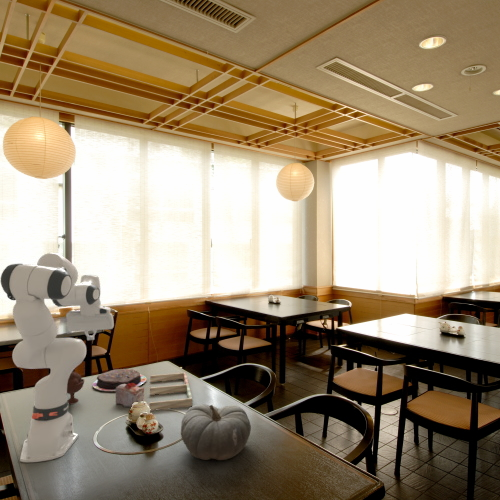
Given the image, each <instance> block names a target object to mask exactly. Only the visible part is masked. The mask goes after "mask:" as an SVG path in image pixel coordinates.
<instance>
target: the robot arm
mask: <svg viewBox="0 0 500 500" xmlns="http://www.w3.org/2000/svg"><path fill="white" fill-rule="evenodd" d="M78 273H79V272H78V270H77V268H76V265H74V264H73V263H72V262H71V261H70V260H69V259H67V258H66V257H64V256H63V255H61V254H59V253H56V252H47V253H44V255H42V256H40V258H39V259H38V261H37V264H23V263H12V264H8V265H7V266H6V267H5V268H4V269H3V270H2V273H1V274H0V285H1V287H2V290H3V292H4V293H5V294H6V297H7V298H8V299H9V300H11V301H15V303H14V305H13V308H12V316H13V320H14V324H15V326H16V328H17V331H18V332H19V334H20V336H21V338H22V340H21V341H19V342H18V343H17V344H16V345H15V347H14V349H13V350H12V357H11V358H12V361H13V363H14V365H15V366H16V367H17V368H22V369H30V370H32V369H33V370H34V369H35V370H36V369H50V373H49V374H48V375H46V376H44V377H42V378H41V379H39V380H38V381H37V382H36V383H35V385H34V388H33V389H34V390H33V393H34V397H33V398H34V404H33V407H32V415H31V419H30V422H29V423H30V425H29V431H28V433H27V434H26V439H25V440H24V441H23V444H22V448H21V453H20V457H19V462H22V463H38V462H45V461H46V462H47V461H51V460H54V459H58V458H62V457H63V456H64V455H65V454H66V453H67V452H68V450H69V449H70V448H71V447H72V446H73V444H74V443H75V442H76V440H77V439H78V438H79V435H78V433H76V432H74V419H73V418H74V417H73V415H72V414H71V413H70V412H69V405H70V404H68V400H69V399H68V395H67V394H68V393H67V384H68V379H69V376H70V374H71V372H72V371H73V372H74V370H75V368H77V367H78V366H79V365H81V364H82V362H84V360H85V358H86V355H87V345H86V344H85V342H84V341H83V340H82V339H81V338H74V337H57V336H58V327H57V324H56V322H55V319H54V317H53V315H52V313H51V311H50V309H49V308H48V306H47V305H46V304H45V299H46V300H51V301H52V303H53V304H54V305H55V306H56V307H58V308H61V307H72V306H75V307H79V309H78V310H69V311H68V312H66V315H65V319H66V321H67V322H66V331H67V332H84V335H85V336H86V340H87V341H94V340H95V335H96V334H97V332H98V331H100V330H102V331H103V330H105V331H106V330H113V328H114V327H115V323H114V322H115V321H114V316H113V313H112V312H111V311H112V310H111V307H110V306H105V305H101V299H100V298H101V282H100V277H99V276H98V275H95V274H84V275H81V278H80V283H77V282H78V280H79V279H78V278H79V274H78ZM89 331H92V332H93V334H92V335H90V334H89Z"/></svg>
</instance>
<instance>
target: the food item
mask: <svg viewBox="0 0 500 500" xmlns="http://www.w3.org/2000/svg"><path fill="white" fill-rule="evenodd" d="M144 397H145V388H144V387H141V386H138V387H136V384H134V383H128V384H121V385H119V386H117V387H116V392H115V404H119V405H122V406H123V407H126V408H127V407H130V408H132V407H131V406H132V404H133V403H134V402H138V401H143V402H144Z"/></svg>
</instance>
